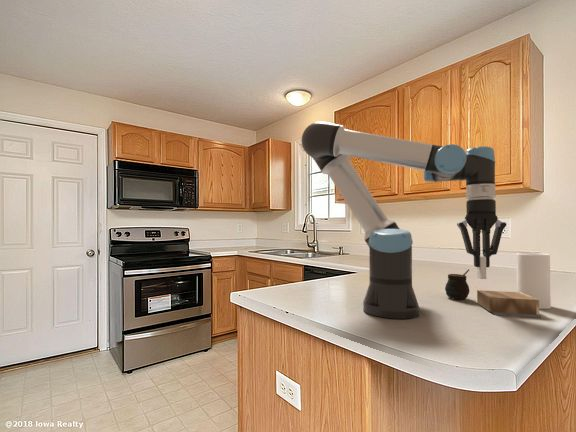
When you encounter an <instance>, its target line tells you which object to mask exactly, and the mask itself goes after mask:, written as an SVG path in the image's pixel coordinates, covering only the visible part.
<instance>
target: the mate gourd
mask: <svg viewBox="0 0 576 432" xmlns="http://www.w3.org/2000/svg"><path fill="white" fill-rule="evenodd" d="M469 272H470V269H467V270H466V271H465V272H464V273H463V274H459V273H448V274H447V278H448V279H447V282H446V284H445V288H444V289H445V295H446V296H447V297H448V298H449V299H451V300H458V301H462V300H463V301H464V300H466V299H467V298H468V297H469V294H470V287H469V284H468V282H467V273H469Z"/></svg>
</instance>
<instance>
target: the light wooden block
mask: <svg viewBox="0 0 576 432" xmlns="http://www.w3.org/2000/svg"><path fill="white" fill-rule="evenodd" d="M476 298H477V299H476V302H477V304H478V305H479V306H481V307H482V308H484V309H486V310H487V311H489V312H490V313H492V312H503V313H520V314H537V315H540V309H539V300H538V299H535V298H533V297H531V296H528V295H526V294H524V293H521V292H517V291H501V290H482V289H481V290H479V289H477V290H476Z"/></svg>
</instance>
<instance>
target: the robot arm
mask: <svg viewBox="0 0 576 432" xmlns="http://www.w3.org/2000/svg"><path fill="white" fill-rule="evenodd" d="M301 147H302V148H303V151H304V152H305V153H306V154H307V155H308V156H309V157H311V158H312V159H313V161H314V162H315V164H316V166H318V168H319V169H320V172H321V173H322V174H323V175H328V176H329V177H330V180H331V182H333V184H334V186H335V188H336V189H337V190H338V192H339V193H340V195H341V197H342V198H343V200H344V201H345V203H346V204H347V206H348V208H349V209H350V211H351V212H352V214H353V216H354V217H355V218H356V221H357V222H358V223H359V225H360V227H361V229H363V231H364V239H363V240H364V241H365V243H366V245H367V247H368V249H369V250H368V251H369V259H368V261H369V271H368V273H369V282H368V287H367V290H366V293H365V297H364V299H363V303H362V304H363V311H364V312H365V313H366V314H367V315H368V314H369V315H371V316H375V317H377V318H378V317H379V318H384V319H396V320H404V319H405V320H406V319H412V318H413V319H414V318H416V317H419V315H420V305H419V302H418V299H417V296H416V293H415V289H414V288H413V247H412V246H413V244H414V242H413V238H412V237H413V236H412V233H411V232H410V231H409V230H407V229H402V228H400V227H399V225H398V224H397V223H396V221H395V220H391V219H388V217H387V216H386V214H385V212H384V211H383V209H382V208H381V206H380V205H379V203H378V202H377V201H376V199H375V197H374V196H373V195H372V193H371V191H370V190H369V188H368V187H367V185H366V184H365V182H364V181H363V179H362V178H361V176H360V175H359V173H358V172H357V170H356V168H355V167H354V166H353V164H352V162H351V161H350V160H351V158H358V159H361V160H363V159H364V160H368V161H373V162H378V163H384V164H387V165H388V164H389V165H393V166H399V167H405V168H409V169H414V170H418V171H423V180H424V181H425V182H427V183H429V182H430V183H431V182H433V183H437V182H453V181H454V182H457V181H465V187H466V188H465V189H466V190H465V191H466V193H465V195H466V196H465V197H466V198H465V199H467V200H466V202H465V203H466V205H465V206H466V215H465V216H464V219H463V220H462V221H460V222H457V223H456V226H457V227H458V228H459V230H460V233H461V236H462V239H463V243H464V247H465V250H466V251H465V252H466V253H467V254H469V255H471V256H473V266H474V267H475V268H477V269H476V270H477V274H476V275H477V278H478V279H480V280H487V268H490V267H491V266H490V264H491V262H490V261H491V260H490V259H491V258H490V257H492V256H494V255H497V253H498V252H499V251H498V250H499V246H500V242H501V239H502V236H503V235H502V234H503V231H504V230H505V228H506V226H507V222H505V221H504V222H503V221H501V220H499V218H498V215H497V211H496V209H497V207H496V204H497V203H496V200H495V197H496V157H495V156H496V155H495V150H494V148H492V147H491V146H476V147H470V148H467V150H465V149H464V148H463V147H461V146H460V145H458V144H453V143H450V144H446V145H438V144H431V143H426V142H420V141H415V140H408V139H403V138H399V137H398V138H396V137H391V136H387V135H386V136H385V135H380V134H373V133H368V132H363V131H358V130H357V131H356V130H350V129H346V128H345V126H344V125H342V124H336V123H331V122H327V121H316V122H313V123H310V124H308V126H307V127H305V129H304V131H303V133H302V136H301ZM468 226H469V227H470V228H471V231H472V241H471V238H470V237H471V236H470V234H469V230H468ZM493 226H494V227H495V229H494V231H493V235H492V239H491V229H492V228H493ZM481 235H482V236H481ZM481 242H482V243H481ZM481 244H482V248H481ZM481 249H482V255H481Z"/></svg>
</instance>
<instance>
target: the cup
mask: <svg viewBox="0 0 576 432" xmlns="http://www.w3.org/2000/svg"><path fill="white" fill-rule="evenodd" d="M516 292H521V293H524V294H526V295H528V296H531V297H533V298H535V299H538V300H539V310H542V309H543V310H544V309H545V310H548V309H551V308H552V306H551V305H552V302H551V301H552V299H551V297H552V296H551V254H548V253H542V252H541V253H539V252H516Z"/></svg>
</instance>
